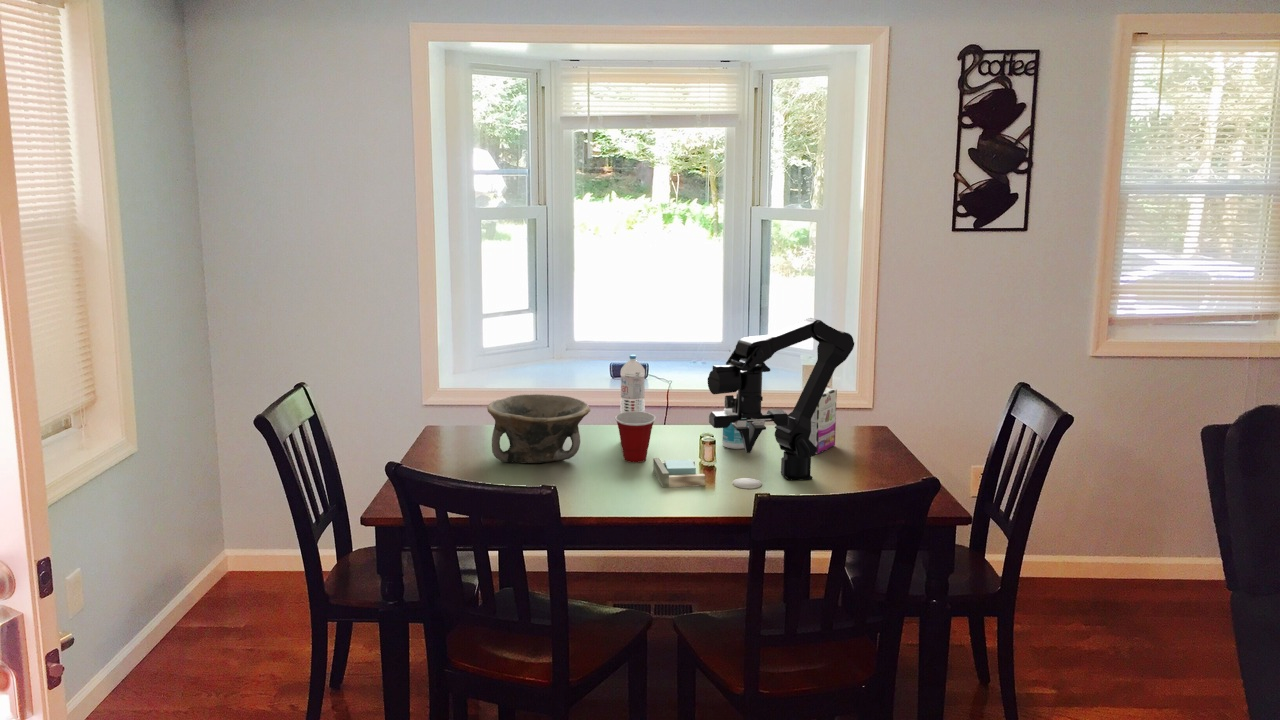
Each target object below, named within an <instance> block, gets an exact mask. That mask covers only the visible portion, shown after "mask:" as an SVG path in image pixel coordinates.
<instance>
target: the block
mask: <svg viewBox="0 0 1280 720" xmlns="http://www.w3.org/2000/svg"><path fill="white" fill-rule="evenodd" d="M692 460H693V459H664V461H665V468H666V469H667V471H668V472H669V475H686V474H697V473H696V472H697V471H696V468H697V467H696V464H695V465H694V463H693V461H692Z"/></svg>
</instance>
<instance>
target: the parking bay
mask: <svg viewBox="0 0 1280 720" xmlns="http://www.w3.org/2000/svg"><path fill="white" fill-rule="evenodd" d="M652 460H653V463H652V467H653V468H652V471H653V473H654V475H655V477H656V478H657V480H658V481H659V483H660V485H661V487H662V488H675V487H680V488H681V487H698V486H699V487H700V486H706V475H705V473H696V474H686V475H669V472H668V471H667V469H666V468H665V460H664V461H662V459H661V458H660V457H653V458H652ZM691 460H692V461H693V463H694V465H695V466H696V464H695V460H694V459H691Z"/></svg>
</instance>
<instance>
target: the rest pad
mask: <svg viewBox="0 0 1280 720" xmlns="http://www.w3.org/2000/svg"><path fill="white" fill-rule="evenodd" d="M732 485H733V486H734V487H736V488H739V489H747V490H749V489H750V490H751V489H752V490H753V489H757V488H759V487H761V486H762V482H761V480H758V479H757V478H750V477H749V478H748V477H741V478H736V479H734V480H732Z"/></svg>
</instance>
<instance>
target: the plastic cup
mask: <svg viewBox="0 0 1280 720" xmlns="http://www.w3.org/2000/svg"><path fill="white" fill-rule="evenodd" d="M656 418H657V417H656V415H655V414H652V413H650V412H647V411H645V412H642V411H628V412H623V413H621V412H620V413H618V414H616V415H615V417H614V419H615V421H616V423H617V424H616V425H617V428H618V434H619V437H620V438H619V439H620V445H621V449H622V456H623V458H624V459H623V460H624V461H625V462H628V463H634V464H635V463H644V462H645V461H646V459H647V456H648V452H649V451H648V449H649V447H650V440H651V434H652V429H653V425H654V423H655V421H656Z"/></svg>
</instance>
